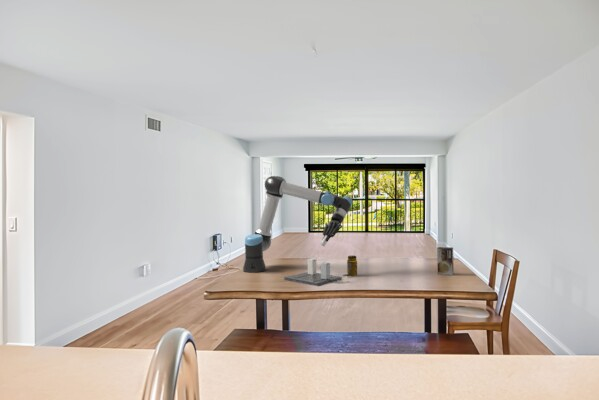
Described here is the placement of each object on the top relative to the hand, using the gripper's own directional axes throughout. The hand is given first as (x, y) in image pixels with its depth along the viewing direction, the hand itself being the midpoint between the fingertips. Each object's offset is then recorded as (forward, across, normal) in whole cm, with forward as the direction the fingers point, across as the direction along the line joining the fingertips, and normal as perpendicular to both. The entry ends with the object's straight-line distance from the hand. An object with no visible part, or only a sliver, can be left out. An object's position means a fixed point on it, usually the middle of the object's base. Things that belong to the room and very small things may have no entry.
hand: (322, 244), depth 268 cm
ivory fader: (+19, +1, -5) cm, 19 cm away
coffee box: (-20, -57, -48) cm, 78 cm away
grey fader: (+22, -14, -2) cm, 26 cm away
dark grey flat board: (+24, -5, -2) cm, 25 cm away
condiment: (+8, -15, -20) cm, 26 cm away
